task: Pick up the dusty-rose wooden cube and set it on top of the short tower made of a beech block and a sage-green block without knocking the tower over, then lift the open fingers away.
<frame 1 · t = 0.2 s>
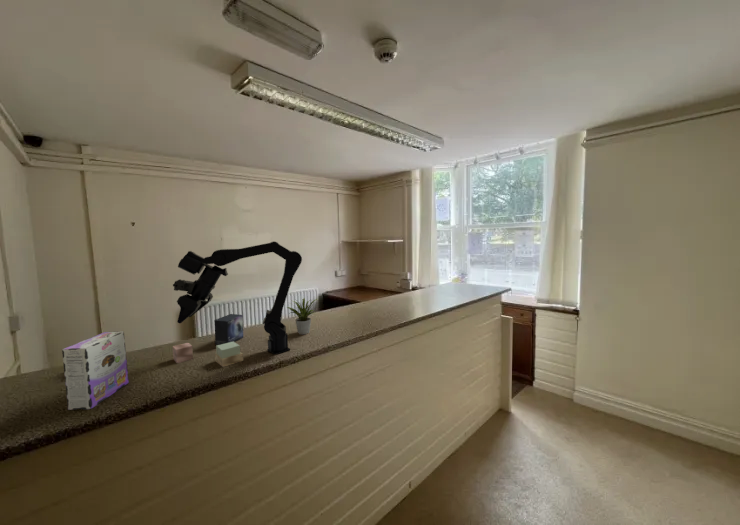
hand: (183, 319, 105), 15 cm above the worktop, tool tilted 30°, fingers open, 9 cm apart
beech base block: (229, 361, 106), on the worktop, touching sage top block
small box: (230, 341, 126), on the worktop
sage top block: (228, 353, 105), point 3 cm above the worktop, touching beech base block
rose cube: (183, 359, 108), on the worktop
candy box: (100, 396, 83), on the worktop
house plant: (305, 332, 138), on the worktop
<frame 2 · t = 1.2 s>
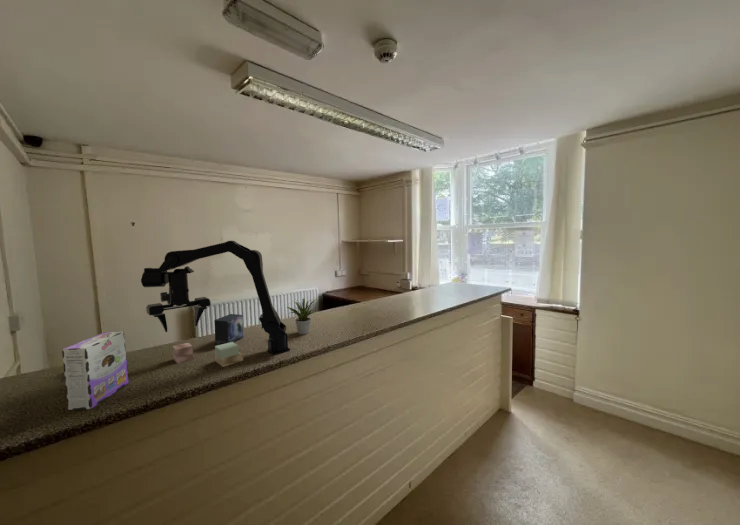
hand: (181, 328, 107), 11 cm above the worktop, tool pointing down, fingers open, 9 cm apart
nothing on the worktop moved.
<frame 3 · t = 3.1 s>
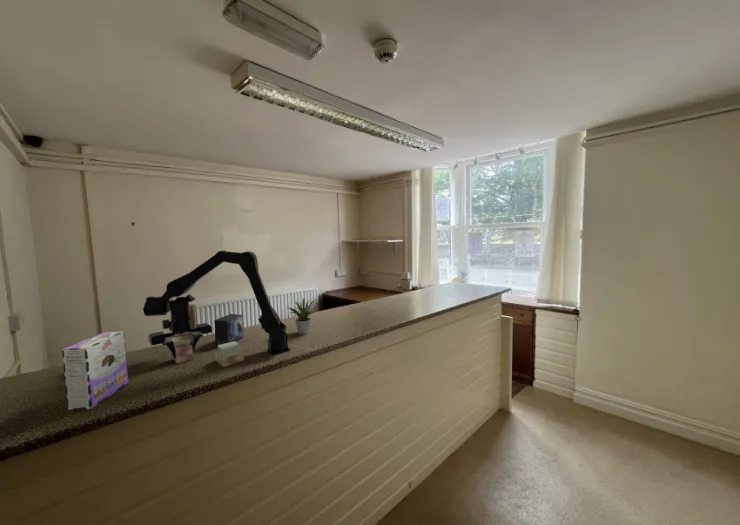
hand: (183, 356, 108), 1 cm above the worktop, tool pointing down, fingers closed on rose cube, 5 cm apart
beech base block: (229, 361, 106), on the worktop
sage top block: (229, 353, 106), point 3 cm above the worktop
rose cube: (183, 359, 108), on the worktop, touching gripper
everything else where it was.
when the fingers open (8 cm above the worktop, at t = 7.6 s): rose cube drops 2 cm, resting on sage top block.
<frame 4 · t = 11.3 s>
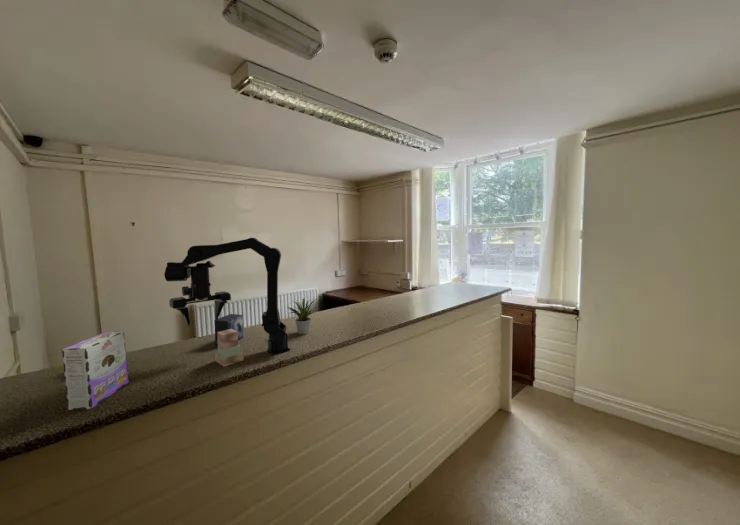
hand: (202, 322, 108), 13 cm above the worktop, tool pointing down, fingers open, 9 cm apart
sage top block: (229, 353, 106), point 3 cm above the worktop, touching rose cube
rose cube: (228, 345, 105), point 6 cm above the worktop, touching sage top block
everything else where it was.
at the end: rose cube 0.3 cm off-centre on the sage top block, point 3.0 cm above the sage top block's base; sage top block 0.2 cm off-centre on the beech base block, point 3.0 cm above the beech base block's base; rose cube tilted 0° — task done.
